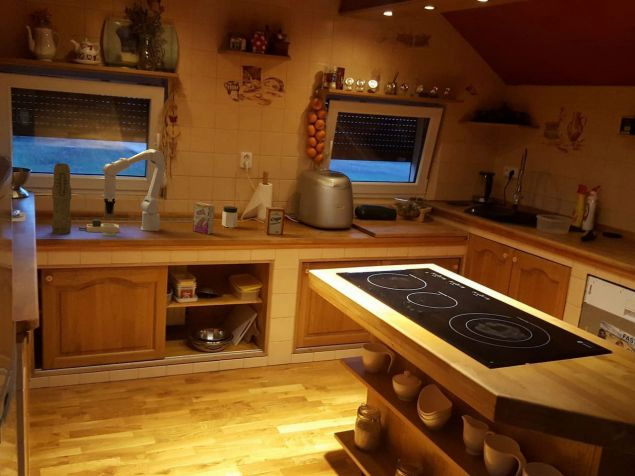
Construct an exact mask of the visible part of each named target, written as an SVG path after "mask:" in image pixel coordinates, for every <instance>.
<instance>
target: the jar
mask: <svg viewBox="0 0 635 476" xmlns="http://www.w3.org/2000/svg"><path fill="white" fill-rule="evenodd" d="M238 215H239V213H238V207H236V206H232V205H231V206H229V205H227V206H223V210H222V218H221V226H222V225H223V226H225V227H237V228H238Z"/></svg>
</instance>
